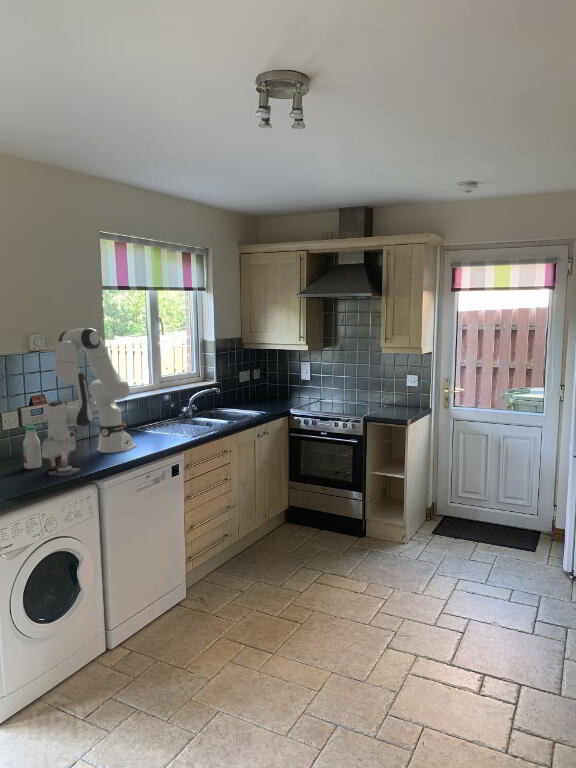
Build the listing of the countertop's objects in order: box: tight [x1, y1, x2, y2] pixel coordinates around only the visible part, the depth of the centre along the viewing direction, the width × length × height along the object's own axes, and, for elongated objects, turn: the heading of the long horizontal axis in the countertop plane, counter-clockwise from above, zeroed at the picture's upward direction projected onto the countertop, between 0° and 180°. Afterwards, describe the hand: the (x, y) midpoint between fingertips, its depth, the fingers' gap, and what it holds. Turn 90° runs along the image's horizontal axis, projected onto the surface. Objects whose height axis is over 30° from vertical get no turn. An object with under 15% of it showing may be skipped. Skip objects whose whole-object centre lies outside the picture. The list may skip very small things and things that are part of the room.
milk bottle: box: [22, 425, 43, 470], centre depth 275 cm, size 8×8×20 cm
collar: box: [49, 455, 71, 470], centre depth 273 cm, size 6×6×5 cm
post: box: [48, 450, 82, 477], centre depth 263 cm, size 10×10×10 cm
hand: (60, 463), depth 273 cm, fingers open, 7 cm apart
